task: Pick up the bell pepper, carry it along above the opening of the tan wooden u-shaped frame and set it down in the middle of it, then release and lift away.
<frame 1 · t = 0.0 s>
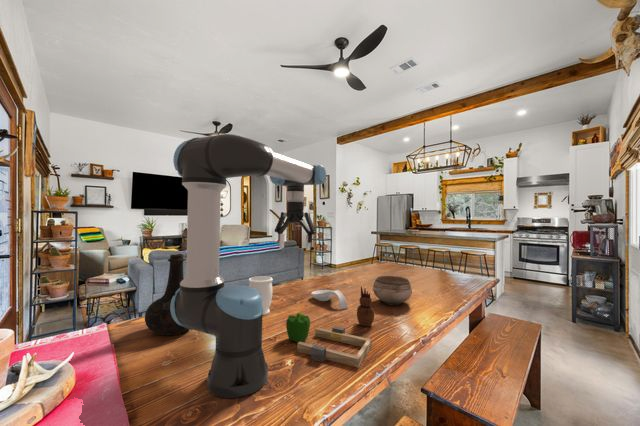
hand: (294, 249, 122), 28 cm above the table, tool pointing down, fingers open, 13 cm apart
spoon rest: (329, 303, 137), on the table
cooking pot: (391, 303, 137), on the table
tan wooden u-shaped frame: (325, 346, 90), on the table
bell pepper: (297, 340, 95), on the table
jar: (260, 312, 121), on the table
wooden figurine: (365, 325, 109), on the table
glass bottle: (173, 331, 101), on the table
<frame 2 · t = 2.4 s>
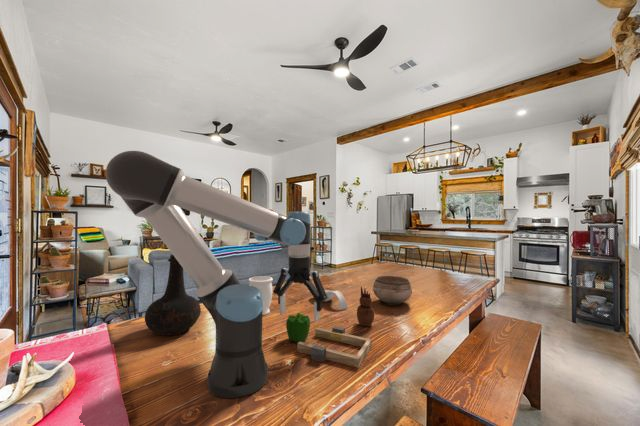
hand: (299, 316, 95), 8 cm above the table, tool pointing down, fingers open, 13 cm apart
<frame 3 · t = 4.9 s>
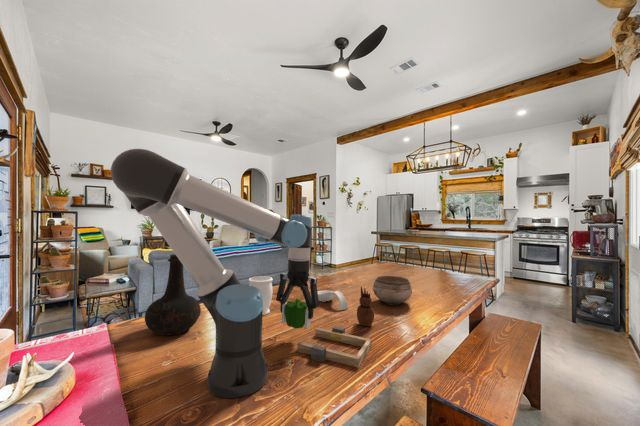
hand: (295, 324, 95), 5 cm above the table, tool pointing down, fingers closed on bell pepper, 8 cm apart
bell pepper: (295, 326, 95), point 5 cm above the table, touching gripper
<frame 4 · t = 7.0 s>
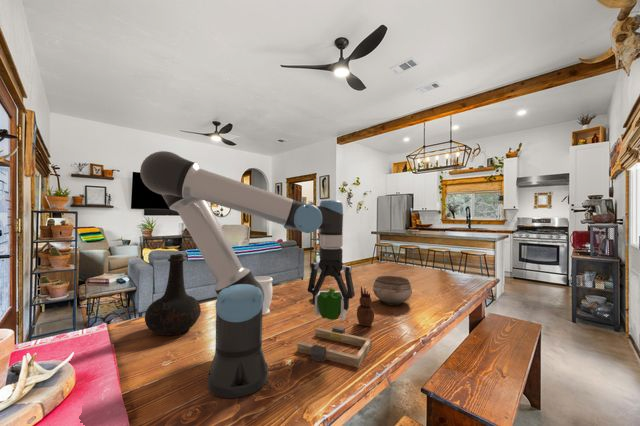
hand: (330, 316, 90), 10 cm above the table, tool pointing down, fingers closed on bell pepper, 8 cm apart
bell pepper: (330, 318, 90), point 10 cm above the table, touching gripper
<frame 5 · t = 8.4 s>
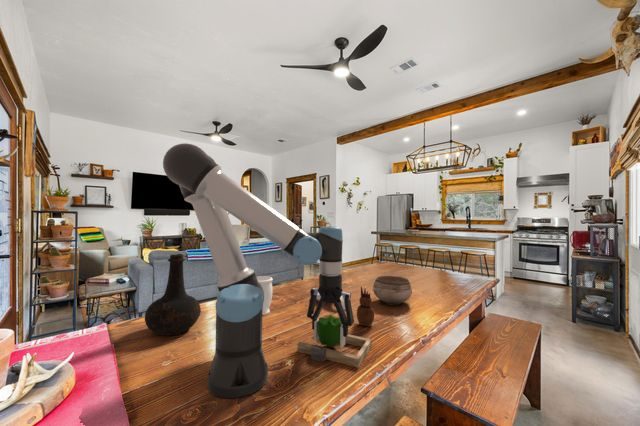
hand: (329, 342, 90), 2 cm above the table, tool pointing down, fingers closed on bell pepper, 8 cm apart
bell pepper: (329, 344, 90), point 1 cm above the table, touching gripper
when the fingers open (1 cm above the table, at t = 9.3 s): bell pepper drops 1 cm, resting in tan wooden u-shaped frame.
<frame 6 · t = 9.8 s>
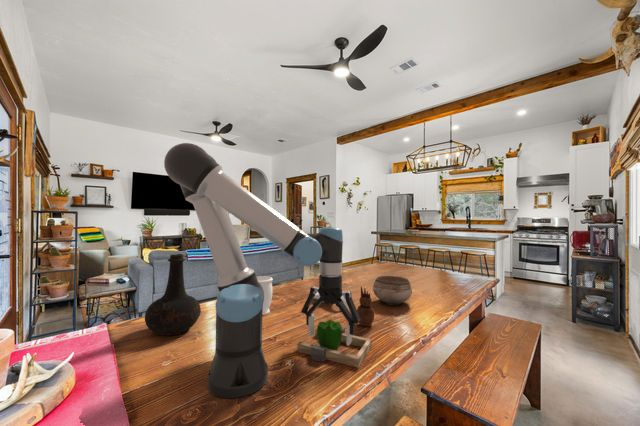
hand: (329, 339, 90), 3 cm above the table, tool pointing down, fingers open, 13 cm apart
bell pepper: (329, 348, 90), resting in tan wooden u-shaped frame
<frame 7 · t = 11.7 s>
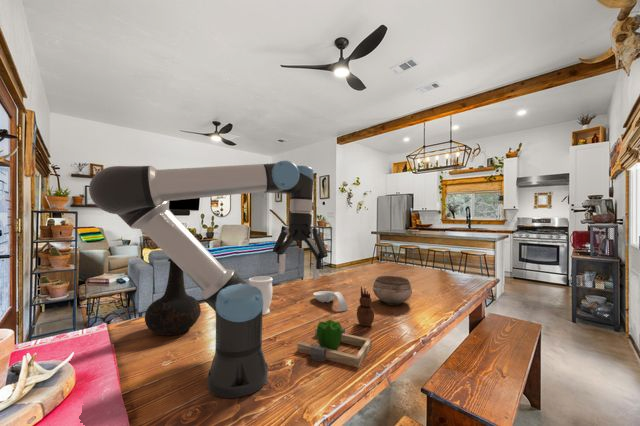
hand: (298, 276, 92), 23 cm above the table, tool pointing down, fingers open, 13 cm apart
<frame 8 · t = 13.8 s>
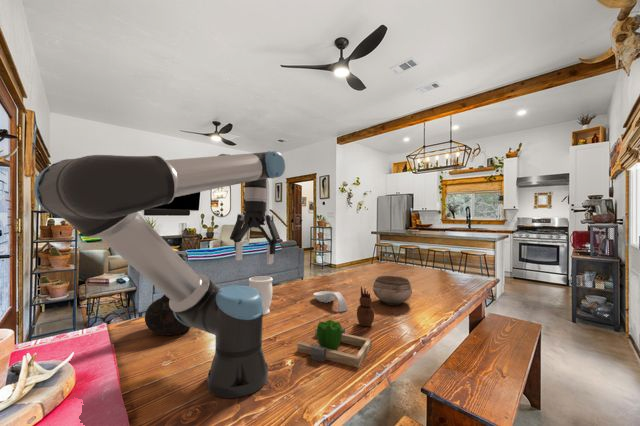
hand: (254, 262, 95), 27 cm above the table, tool pointing down, fingers open, 13 cm apart
at the end: bell pepper inside the target area (0.1 cm from its centre), resting in tan wooden u-shaped frame; bell pepper moved 12.0 cm from its start; the gripper is holding nothing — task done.
